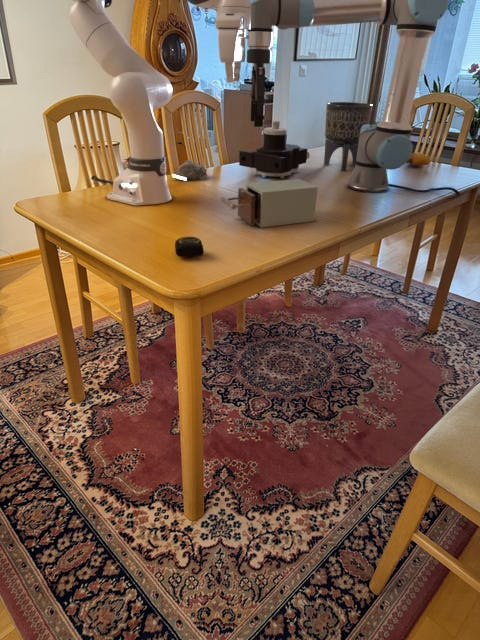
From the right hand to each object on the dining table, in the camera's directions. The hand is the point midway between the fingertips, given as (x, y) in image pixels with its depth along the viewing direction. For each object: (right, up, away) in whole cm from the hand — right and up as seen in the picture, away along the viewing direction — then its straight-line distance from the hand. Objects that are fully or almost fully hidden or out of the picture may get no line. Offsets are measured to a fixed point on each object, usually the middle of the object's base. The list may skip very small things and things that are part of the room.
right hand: (256, 123), depth 149 cm
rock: (-25, -7, +36) cm, 44 cm away
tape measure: (-18, -49, -35) cm, 63 cm away
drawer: (+1, -33, -10) cm, 35 cm away
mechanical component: (+12, -1, +47) cm, 49 cm away
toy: (+79, +10, +69) cm, 105 cm away
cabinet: (+7, -33, -8) cm, 35 cm away
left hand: (-7, +1, -24) cm, 25 cm away
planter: (+42, +7, +62) cm, 75 cm away
